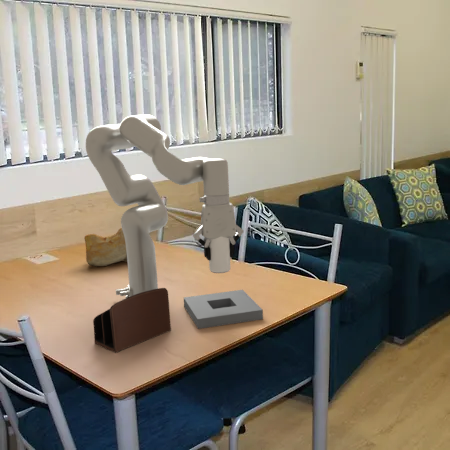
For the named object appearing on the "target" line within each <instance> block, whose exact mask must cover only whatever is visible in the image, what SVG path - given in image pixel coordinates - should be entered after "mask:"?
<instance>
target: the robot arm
mask: <svg viewBox="0 0 450 450" xmlns="http://www.w3.org/2000/svg"><path fill="white" fill-rule="evenodd" d="M170 143H171V139H170V137H169V135H167V133H164V132H163V131H162V128H161V123H160V121H159V119H158V118H157V117H155V116H153V115H151V114H135V115H133V114H132V115H129V116H126V117H125V118H123V120H122V121H121V122H120V123H117V124H116V123H115V124H105V125H99V126H96V127H94V128H92V129H91V130H90V131H89V132H88V133H87V135H86V138H85V151H86V155H87V157H88V159H89V161H90V162H91V164H92V165H93V167H94V168H95V170H96V171H97V174H99V176H100V178H101V180H102V182H103V183H104V186H105V188H106V190H107V191H108V193H109V195H110V197H111V199H112V201H113V202H114V204H116V205H117V206H119V207H129V206H131V205H136V204H137V205H136V206H132V207H129V208H128V209H126V210H125V211H124V212H123V214H122V216H121V218H120V225H121V226H120V227H121V228H122V230H123V233H124V237H125V243H126V252H127V272H128V284H127V286H125V287H124V288H117V289H115V295H116V296H120V297H124V296H125V299H126V298H128V297H130V296H133V295H135V294H138V293H142V292H145V291H149V290H153V289H159V284H158V273H157V270H158V269H157V259H156V258H157V257H156V256H157V255H156V246H155V242H154V240H153V238H152V236H151V235H150V233H151V232H155V231H157V230H160V229H162V228H163V227H166V225H167V223H168V221H169V213H168V210H167V208H166V206H165V204H164V202H163V200H162V197H161V196H160V195H159V192H158V191H157V188H156V187H155V185H154V183H153V181H151V179H150V178H149V177H147V176H146V175H143V174H133V175H131V174H129V172H128V171H127V169H126V167H125V166H124V163H123V162H122V161H121V160H120V159H119V158H118V157H117V156H116V155H114V153H112V151H118V150H119V151H120V150H126V149H131V148H134V147H135V148H137V149H139V151H141V152H143V153H144V154H146V155H147V156H148V157H150V158H151V160H152V164H153V165H154V166H155V169H156V170H157V172H159V174H160V175H163V177H165V178H167V179H168V180H169V181H170V182H172V183H174V184H177V185H179V186H186V185H188V186H189V185H191V184H194V183H200V182H203V185H202V186H203V196H201V197H199V199H198V201H199V203H203V204H202V207H201V215H200V227H199V228H198V229H196V231H195V232H194V233H193V234H192V237H193V238H194V240H195V241H197V242H198V243H199V244H201V245H202V247H203V253H204V254H203V255H204V256H203V257H204V258H206V260H207V261H209V260H211V254H210V247H209V243H210V239H216V238H218V237H226V238H228V237H229V243H230V259H231V258H234V254H235V245H236V242H237V241H238V240H239V239H240V237H241V236H242V235H243V233H244V230H243V228H242V227H240V226H239V225H238V224H237V223H236V217H235V216H236V215H235V210H234V206H233V203H232V202H230V188H229V187H230V185H229V183H230V182H229V181H230V180H229V164H228V161H227V159H226V158H222V157H212V158H209V157H203V156H195V157H189V158H188V157H187V158H184V159H181V158H179V157H178V156H176V155H174V153H172V152H171V151H169V149H170V145H171V144H170ZM201 235H202V236H203V239H202V238H201V237H200V236H201Z"/></svg>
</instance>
